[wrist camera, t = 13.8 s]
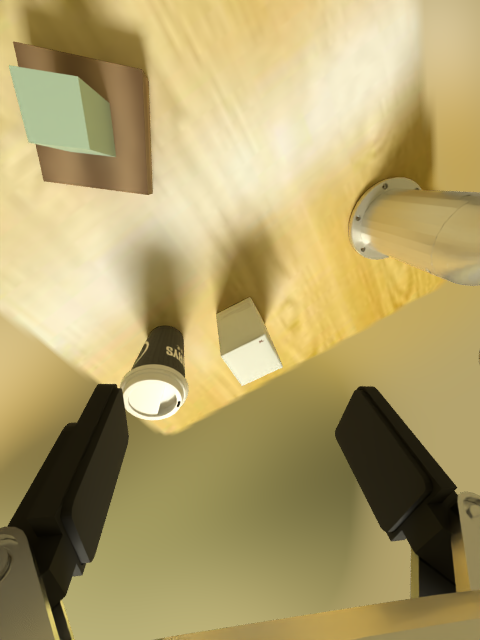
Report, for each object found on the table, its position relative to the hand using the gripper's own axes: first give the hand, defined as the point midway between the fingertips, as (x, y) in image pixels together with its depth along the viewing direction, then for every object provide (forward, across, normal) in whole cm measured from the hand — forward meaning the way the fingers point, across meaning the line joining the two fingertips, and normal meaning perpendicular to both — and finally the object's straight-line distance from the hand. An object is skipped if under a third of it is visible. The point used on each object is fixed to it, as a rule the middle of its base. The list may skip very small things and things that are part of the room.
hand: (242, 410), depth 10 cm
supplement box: (+34, -6, +14) cm, 37 cm away
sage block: (+30, +15, -11) cm, 36 cm away
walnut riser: (+34, +15, -11) cm, 39 cm away
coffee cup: (+34, +8, +20) cm, 40 cm away
